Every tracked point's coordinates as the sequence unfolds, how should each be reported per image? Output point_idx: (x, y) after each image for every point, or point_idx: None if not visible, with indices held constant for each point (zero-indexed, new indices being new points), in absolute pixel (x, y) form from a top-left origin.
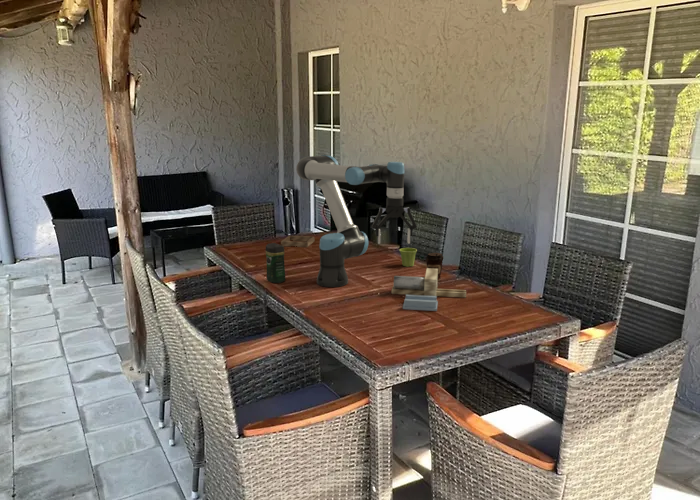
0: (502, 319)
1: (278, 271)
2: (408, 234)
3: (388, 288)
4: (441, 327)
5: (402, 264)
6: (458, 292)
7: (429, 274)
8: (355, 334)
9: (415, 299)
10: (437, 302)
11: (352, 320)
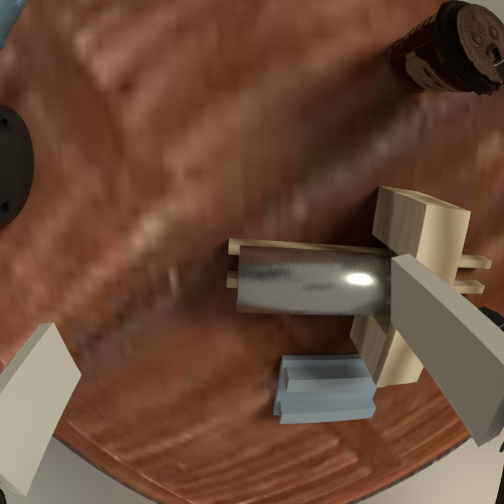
0: None
1: None
2: (444, 391)
3: (207, 205)
4: (348, 466)
5: None
6: (466, 289)
7: None
8: (183, 496)
9: (316, 413)
10: None
11: (156, 461)
